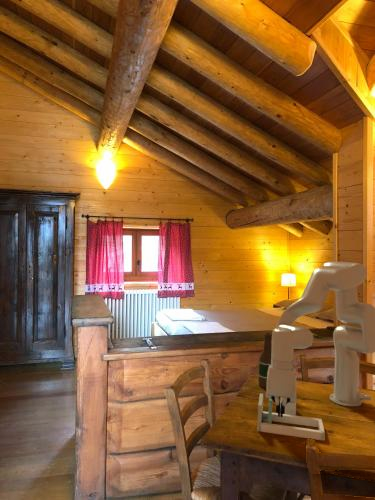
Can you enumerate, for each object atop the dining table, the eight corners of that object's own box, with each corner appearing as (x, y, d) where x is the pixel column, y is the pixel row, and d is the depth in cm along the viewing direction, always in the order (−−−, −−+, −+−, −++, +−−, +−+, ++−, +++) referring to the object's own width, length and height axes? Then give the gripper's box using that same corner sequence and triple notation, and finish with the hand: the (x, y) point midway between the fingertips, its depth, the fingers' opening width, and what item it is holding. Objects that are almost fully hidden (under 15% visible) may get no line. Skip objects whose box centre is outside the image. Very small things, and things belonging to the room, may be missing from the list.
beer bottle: (262, 389, 172) (264, 335, 172) (254, 382, 179) (256, 331, 179) (278, 387, 174) (279, 335, 174) (269, 381, 181) (271, 331, 181)
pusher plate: (271, 421, 140) (272, 396, 139) (271, 430, 132) (272, 404, 132) (263, 420, 140) (264, 395, 140) (262, 429, 133) (263, 403, 133)
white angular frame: (321, 425, 137) (322, 400, 137) (324, 440, 127) (325, 413, 126) (259, 417, 142) (259, 393, 142) (257, 431, 132) (258, 405, 132)
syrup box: (296, 416, 145) (297, 377, 145) (280, 414, 146) (281, 376, 146) (295, 409, 150) (296, 373, 150) (279, 408, 152) (280, 371, 151)
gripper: (303, 362, 137) (301, 413, 137) (260, 358, 140) (259, 408, 141) (304, 369, 130) (302, 423, 130) (260, 364, 133) (258, 417, 133)
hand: (280, 415), depth 135 cm, fingers closed
